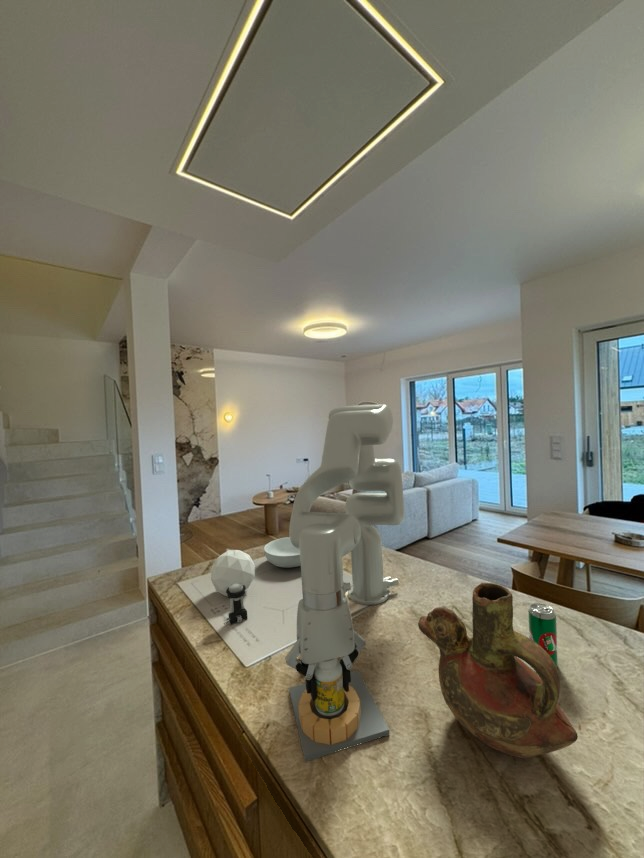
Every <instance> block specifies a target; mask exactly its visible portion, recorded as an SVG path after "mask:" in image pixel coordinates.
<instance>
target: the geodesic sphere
mask: <svg viewBox="0 0 644 858" xmlns="http://www.w3.org/2000/svg"><path fill="white" fill-rule="evenodd" d="M225 550H226V551H225V552H223V553H222V554H221V555H219V556H218V557H217V558H216V560H215V561H214V562H213V564H212V566H211V568H210V580H211V583H212V585H213V587H214V589H215V592H218V593H220V594H222V595H224V596H226V597H228V595H227V593H226V589H227V588H228V587H229V586H230V585H231V584H233V583H237V582H239V583H242V585H244V586H245V587H246V590H248V589H249V587H250V586H251V584H252V582H253V581H254V579H255V575H256V574H255V572H256V567H255V563H254V561H253V559H252V557H251V556H250V554H248V553H246V552H245V551H242V550H240V549H235V548H234V549H233V548H230V547H229V548H226V549H225Z"/></svg>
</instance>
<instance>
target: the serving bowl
mask: <svg viewBox="0 0 644 858" xmlns="http://www.w3.org/2000/svg"><path fill="white" fill-rule="evenodd" d="M263 551H264V555H265V558H266V560H267V561H268V562H269V563H271V564H272V565H274V566H275V567H279V568H287V569H288V568H297V567H301V561H300V549H298V548H296V547H294V546H293V544H292V543H291V540H290V536H287V537H280V538H278V539H274V540H271V541H270V542H268V543H266V544H265V545H264V547H263Z"/></svg>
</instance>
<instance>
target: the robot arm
mask: <svg viewBox="0 0 644 858" xmlns="http://www.w3.org/2000/svg"><path fill="white" fill-rule="evenodd" d="M393 418H394V417H393V413H392V410H391V408H390V407H389V406H388V405H387V404H382V403H381V404H380V403H379V404H364V405H363V404H362V405H360V404H359V405H345V406H337V407H335V408H332V409H331V410H330V412H329V413H328V421H327V426H326V431H325V432H326V433H325V438H324V445H323V451H322V456H321V463H320V466H319V467H318V468H317V469H316V470H315V471H314V472H313V473H312V474H310V475H309V476H308V478H307V479H305V481H304V483H303V484H302V485H300V488H299V489H298V491H297V493H296V495H295V498H294V501H293V505H292V511H291V516H290V521H289V529H288V532H289V534H288V535H289V536H288V537H290V540H291V543H292V544H293V546H294V547H296V548H298V549H300V561H301V566H300V574H301V575H300V577H301V578H300V579H301V589H302V590H301V591H302V592H301V593H302V598H301V599H300V600H299V601H298V603H297V604H298V605H297V610H296V642H295V643H294V644H293V646H292V647H291V649H290V650H289V652H288V653H287V654H286V656H285V657H284V658H285V662H286V665H287V666H289V667H290V668H292V669H295V670H296V672H298V673H299V674H301V676H304V678H305V679H304V681H305V684H306V690H307V694H309V693H310V694H311V697H312V700H313V701H315V700H316V699H317V697H316V680H315V677H314V674H313V672H314V668H315V664H316V663H318V662H322V661H326V660H330V659H334V658H338V659H339V658H340V659H339V663H340V664H341V666H342V674H343V688H344V690H345V691H346V692H348V691H349V683H350V682H351V675H350V672H351V669H352V668H353V664H354V662H355V661H356V660H357V658H358V656H359V653H361V652H362V650H363V649H364V648H365V647H366V645H367V643H366V641H365V639H364V638H363V637H362V636H361V635H360V634H359V633H358V632H356V631H355V629H354V624H353V623H354V622H353V618H352V612H351V607H350V604H349V603H350V602H349V600H348V598H349V599H350V600H351V601H353V603H354V602H355V603H357V604H359V605H365V606H367V605H369V606H370V605H371V606H372V605H374V606H375V605H379V604H381V603H384V602H385V601H387V600H388V599H389V597H390V589H389V588H390V587H396V586H398V585H399V584H400V583H399V582H400V581H399V579H398V578H391V576H386V577H384V565H383V564H384V563H383V562H384V561H383V545H382V537H381V534H380V533H379V531H378V529H377V528H376V526H398V525H401V524H402V522H403V521H404V518H405V505H404V503H405V502H404V489H403V476H402V475H403V474H402V469H401V466H400V464H399V462H398V461H397V460H396V459H394V458H376V456H375V451H374V450H375V449H374V448H375V446H378V445H379V446H380V445H383V444H385V443H386V442H387V440H388V438H389V436H390V433H391V431H392V429H393V423H394V422H393V421H394V419H393ZM347 482H348V484H349V487H350V489H352V490H355V491H360V492H355V493H352V494H349V496H348V497H347V498H346V501H345V512H343V513H342V512H320V511H318V512H316V511H311V508H312V506H313V504H314V503H315V502H316V500H318V498H319V497H320V496H321V495H323V494H324V493H326V492H327V491H328V492H329V491H330V490H332V489H335V488H336V487H338V486H341V485H343V484H345V483H347ZM362 491H363V492H362ZM349 553H350V554H351V555H350V556H351V575H352V585H351V582H345V581H344V571H343V570H344V569H343V557H344V556H346V555H348V554H349ZM346 593H347V595H346ZM347 596H348V597H347ZM299 655H300V658H301V659H300V658H298V657H299Z"/></svg>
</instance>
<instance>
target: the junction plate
mask: <svg viewBox="0 0 644 858" xmlns="http://www.w3.org/2000/svg"><path fill="white" fill-rule="evenodd" d="M350 675H351V682H350V683H349V685H350V686H351V687H353V688H354V690H355V691H356V693H357V695H358V697H359V699H360V711H361V716H360V722H359V727H358V729H357V730H356V731H355V732H354V733H353V734H352V735H351V736H350V737H349V738H346V740H345V741H341V742H338V743H335V744H331V742H330V745H329V744H324V743H319V742H315V740H314V741H313V740H312V739H310V738H309V737H308V736H307V735H306V734H305V733H304V732H303V730H302V728H301V724H300V720H299V708H298V703H299V701H300V698H301V696H302V693H303V692H304V691H305V690H306V683H303V684H299V685H296V686H292V687H290V686H289V687H288V690H289V696H290V701H291V705H292V709H293V713H294V718H295V722H296V726H297V730H298V731H297V733H298V737H299V740H300V745H301V749H302V752H303V753H302V754H303V758H304V762H309V761H313V760H315V759H318V758H321V756H322V757H325V756H328V755H331V754H333V752H335V751H338V750H340V749H344V748H347V747H350V746H353V747H355V746H354V745H357V744H360V743H363V744H365V743H364V742H366V743H369V742H372V741H374V740H373V739H375V740H378V739H377V738H379V737H380V738H379V739H381V737H382V736H385V735H386V736H385V737H387V735H388V736H390V735H391V734H390V728H389V726H388V724H387V722H386V721H385V718H384V716H383V714H382V713H381V711H380V708H379V707H378V705H377V703H376V701H375V700H374V697H373V696H372V694H371V692H370V689H369V688H368V686H367V684H366V682H365V680H364V679H363V677H362V674H361V673H360V671H359V669H357V670H353V671H350ZM346 710H347V707H346V706H345V705H344V707H343V709H342V711H341V712H340V713H338V714H337V715H334V716H324V715H322V714H320V713H319V712H318V711H317V709H316V706H315V707H314V708H313V710H312V712H313V713H314V714H315V715H316V716H318V717H319V718H323V719H329V720H330V719H334V718H337V717H340V716H341V715H342V714H343V713H344V712H345V711H346ZM389 734H390V735H389ZM382 738H383V737H382ZM371 740H372V741H371ZM368 741H369V742H368ZM360 745H361V744H360ZM357 746H358V745H357ZM350 748H351V747H350ZM347 749H348V748H347ZM344 750H345V749H344ZM338 752H339V751H338ZM330 753H331V754H330ZM335 753H336V752H335ZM327 754H328V755H327Z"/></svg>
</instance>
